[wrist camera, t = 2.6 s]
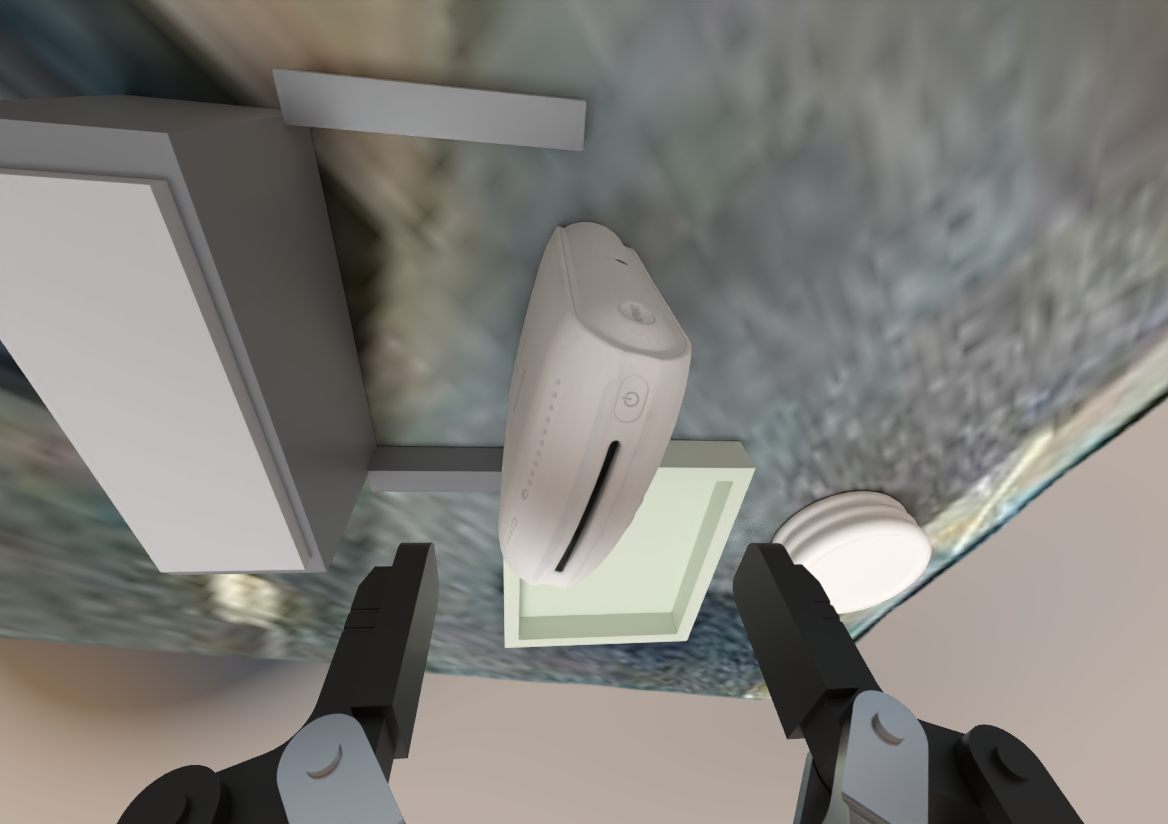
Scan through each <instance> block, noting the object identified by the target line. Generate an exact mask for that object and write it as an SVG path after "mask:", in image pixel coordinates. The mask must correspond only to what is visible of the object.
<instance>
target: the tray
mask: <svg viewBox="0 0 1168 824" xmlns="http://www.w3.org/2000/svg"><path fill="white" fill-rule="evenodd" d="M504 444H505V438H504ZM503 457H504V450H503ZM502 471H503V462H502ZM754 471H755V466H754V465H753V463H752V461H751V459H750V458H749V456H748V454H747V452H746V451H745V449H744V447H743V445H742V444H741V442H740V441H685V440H670V441H669V444H668V446H667V449H666V451H665V453H664V455H663V458H662V460H661V463H660V465H659V467H658V469H657V472H656V474H655V476H654V478H653V480H652V482H651V484H650V486H649V488H648V490H647V492H646V494H645V496H644V499H643V502H642V504H641V506H640V507H639V509H638V511H637V512H636V513H635V516H634V519H633V521H632V523H631V524H630V526H629V527H628V528H627V529H626V531H625V532H624V534H623V535H622V537H621V538H620V540H619V541H618V543H617V544H616V546H615V547H614V549H613V550H612V551H611V552H610V554H609V555H608V556H607V557H606V558H605V560H604V561H603V562H602V563H601V564H600V565H599V566H598V567H597V568H596V569H595V570H594V571H593V572H592V573H590V574H589V575H588V576H587V577H586V578H584V579H583V580H581V581H580V582H578V583H577V584H575V585H573V586H571V587H570V588H567V589H560V588H558V587H555V586H553V585H548V584H541V585H534V586H532V585H530V584H528V583H527V582H525V581H524V580H522V579H521V578H520V577H519V576H517V575H516V574H515V573H514V572H513V571H512V569H511V568H510V567H509V565H508V564H507V562H506V561H505V559H504V620H505V648H512V647H538V646H564V645H590V644H616V643H642V642H668V641H687V639H688V637H689V634H690V632H691V629H692V627H693V624H694V622H695V619H696V617H697V614H698V612H699V609H700V606H701V604H702V601H703V599H704V596H705V594H706V591H707V589H708V586H709V584H710V581H711V579H712V576H713V574H714V571H715V569H716V566H717V564H718V561H719V559H720V556H721V554H722V551H723V549H724V546H725V544H726V541H727V539H728V536H729V534H730V531H731V529H732V526H733V524H734V521H735V519H736V516H737V514H738V511H739V509H740V506H741V504H742V501H743V499H744V496H745V494H746V491H747V489H748V486H749V483H750V481H751V478H752V476H753V473H754Z"/></svg>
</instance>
